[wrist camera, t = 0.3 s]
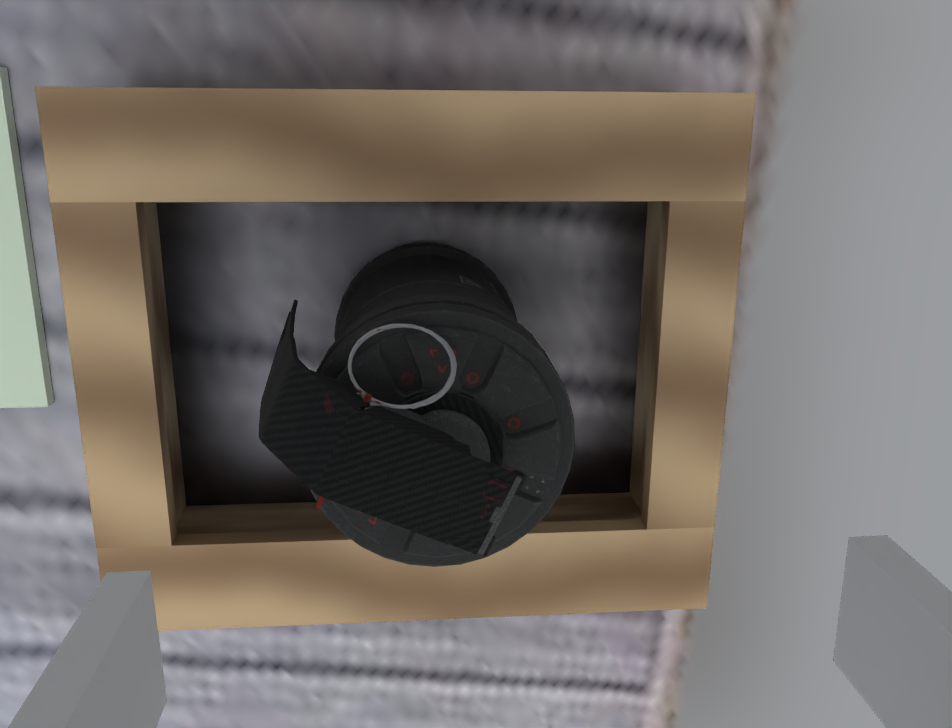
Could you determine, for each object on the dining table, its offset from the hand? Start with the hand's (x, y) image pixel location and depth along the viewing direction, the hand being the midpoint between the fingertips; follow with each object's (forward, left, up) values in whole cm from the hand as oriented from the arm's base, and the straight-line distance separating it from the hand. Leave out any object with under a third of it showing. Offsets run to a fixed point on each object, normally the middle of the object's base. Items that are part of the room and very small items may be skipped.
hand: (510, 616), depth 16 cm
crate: (+1, -2, -29) cm, 29 cm away
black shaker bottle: (+1, -2, -29) cm, 29 cm away
